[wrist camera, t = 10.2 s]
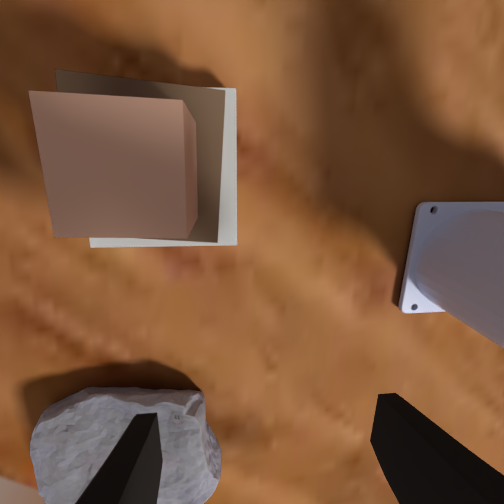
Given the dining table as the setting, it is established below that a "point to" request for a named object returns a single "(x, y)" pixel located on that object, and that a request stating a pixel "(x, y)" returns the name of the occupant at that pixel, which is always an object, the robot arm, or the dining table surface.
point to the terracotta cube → (117, 165)
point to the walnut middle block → (207, 133)
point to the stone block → (110, 431)
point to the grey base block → (227, 192)
